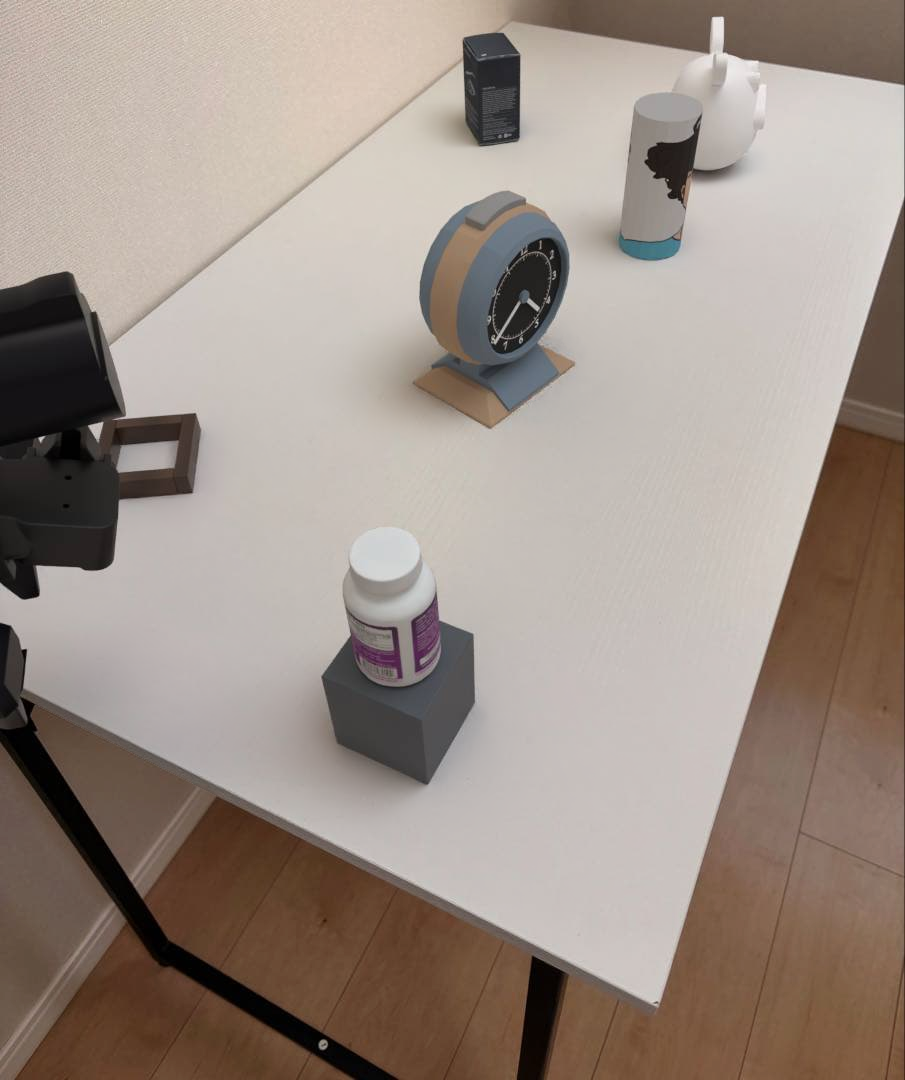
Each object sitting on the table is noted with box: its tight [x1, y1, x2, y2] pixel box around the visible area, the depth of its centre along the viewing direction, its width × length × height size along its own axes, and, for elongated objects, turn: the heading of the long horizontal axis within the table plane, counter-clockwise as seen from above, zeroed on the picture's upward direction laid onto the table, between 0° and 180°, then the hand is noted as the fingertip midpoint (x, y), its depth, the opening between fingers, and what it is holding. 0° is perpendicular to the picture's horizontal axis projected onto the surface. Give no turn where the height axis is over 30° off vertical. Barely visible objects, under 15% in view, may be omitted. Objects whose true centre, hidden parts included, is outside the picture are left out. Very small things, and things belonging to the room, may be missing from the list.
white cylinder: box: [618, 91, 703, 261], centre depth 98 cm, size 7×7×15 cm
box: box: [461, 32, 522, 146], centre depth 120 cm, size 8×6×11 cm
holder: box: [98, 412, 202, 500], centre depth 82 cm, size 8×8×2 cm
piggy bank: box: [670, 16, 768, 171], centre depth 110 cm, size 12×12×15 cm
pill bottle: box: [342, 526, 441, 687], centre depth 55 cm, size 5×5×10 cm
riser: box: [321, 619, 476, 785], centre depth 61 cm, size 7×7×8 cm
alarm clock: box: [412, 190, 576, 429], centre depth 83 cm, size 14×10×18 cm
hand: (25, 657), depth 54 cm, fingers open, 9 cm apart
